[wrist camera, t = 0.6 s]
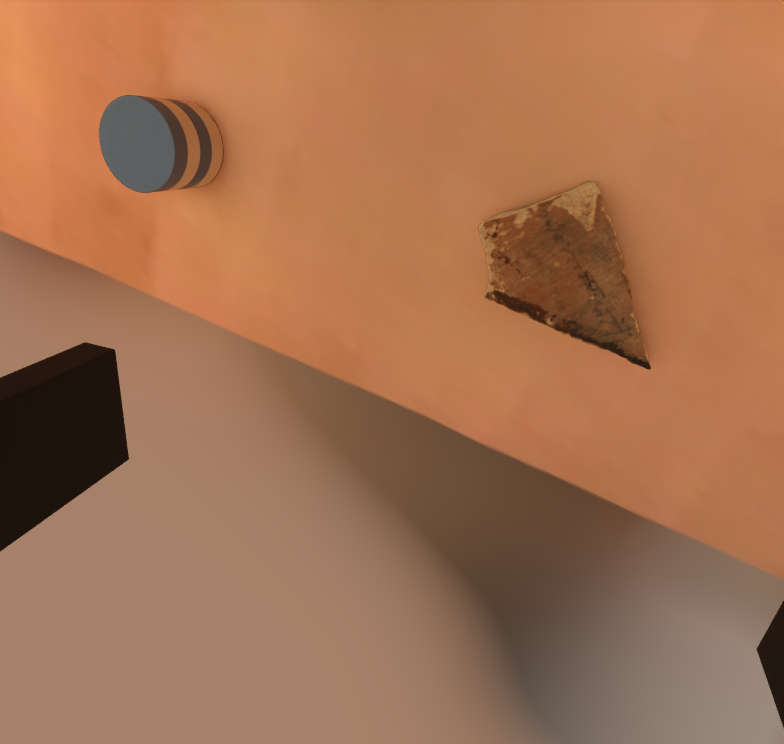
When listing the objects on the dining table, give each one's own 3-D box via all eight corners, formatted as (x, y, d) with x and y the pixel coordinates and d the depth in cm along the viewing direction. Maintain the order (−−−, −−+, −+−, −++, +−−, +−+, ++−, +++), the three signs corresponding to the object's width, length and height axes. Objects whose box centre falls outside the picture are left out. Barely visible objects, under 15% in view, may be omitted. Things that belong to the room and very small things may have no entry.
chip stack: (147, 103, 35) (89, 98, 31) (216, 98, 34) (165, 91, 30) (163, 188, 37) (110, 193, 33) (229, 186, 36) (182, 192, 32)
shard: (648, 360, 32) (652, 371, 30) (519, 389, 35) (517, 401, 33) (601, 176, 29) (602, 178, 28) (466, 225, 32) (460, 229, 31)
